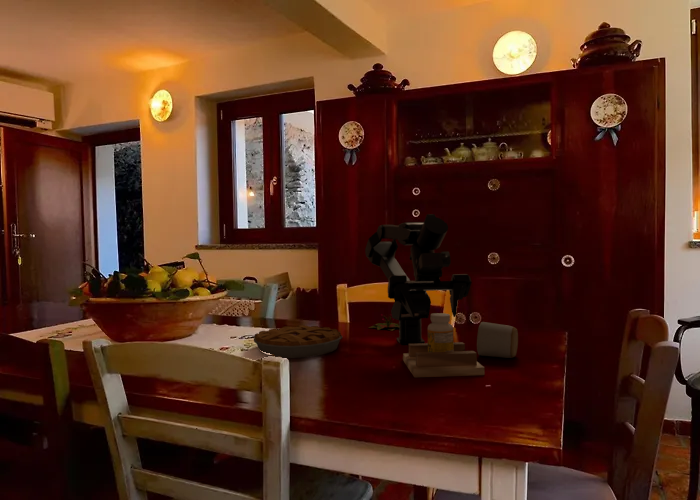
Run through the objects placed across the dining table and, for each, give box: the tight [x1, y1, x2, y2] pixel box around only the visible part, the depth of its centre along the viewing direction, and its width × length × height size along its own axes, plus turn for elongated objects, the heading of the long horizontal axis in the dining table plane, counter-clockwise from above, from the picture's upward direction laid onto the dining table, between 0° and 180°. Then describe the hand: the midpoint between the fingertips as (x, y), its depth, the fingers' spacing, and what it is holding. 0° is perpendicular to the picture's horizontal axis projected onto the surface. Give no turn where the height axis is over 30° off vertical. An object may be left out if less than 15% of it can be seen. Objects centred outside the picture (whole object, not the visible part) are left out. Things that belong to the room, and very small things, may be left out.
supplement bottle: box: [427, 312, 454, 352], centre depth 107 cm, size 5×5×10 cm
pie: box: [253, 324, 343, 359], centre depth 128 cm, size 22×22×5 cm
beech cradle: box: [402, 341, 486, 378], centre depth 107 cm, size 14×14×4 cm
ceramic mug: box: [476, 321, 519, 359], centre depth 117 cm, size 11×8×8 cm
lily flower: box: [368, 313, 399, 331], centre depth 155 cm, size 12×12×5 cm
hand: (434, 316), depth 112 cm, fingers open, 9 cm apart
